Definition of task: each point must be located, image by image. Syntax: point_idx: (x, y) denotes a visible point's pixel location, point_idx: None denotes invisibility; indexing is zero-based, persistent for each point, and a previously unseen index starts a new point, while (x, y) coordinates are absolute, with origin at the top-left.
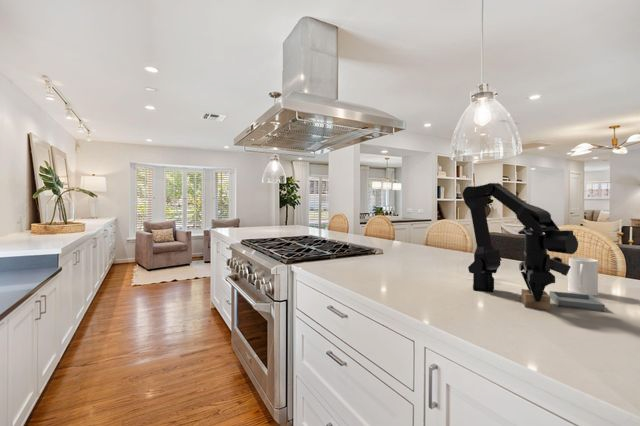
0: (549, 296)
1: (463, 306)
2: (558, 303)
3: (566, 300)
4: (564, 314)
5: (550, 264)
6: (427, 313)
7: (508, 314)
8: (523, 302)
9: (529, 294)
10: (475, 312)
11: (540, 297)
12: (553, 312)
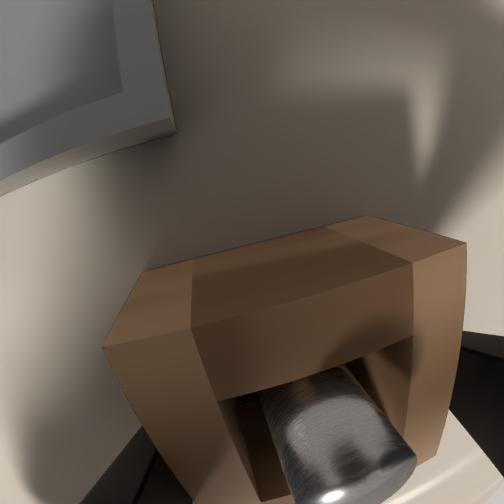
0: (453, 254)
1: (436, 500)
2: (158, 132)
3: (126, 37)
4: (422, 115)
5: None
6: (492, 484)
7: None
8: None
9: (429, 439)
10: None
11: (473, 339)
12: (418, 192)
